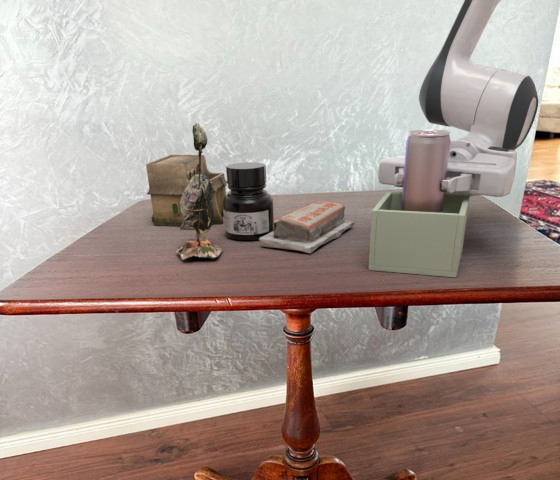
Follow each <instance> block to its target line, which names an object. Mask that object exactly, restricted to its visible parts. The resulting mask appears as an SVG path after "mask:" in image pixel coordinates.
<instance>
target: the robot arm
mask: <svg viewBox="0 0 560 480" xmlns="http://www.w3.org/2000/svg"><path fill="white" fill-rule="evenodd" d="M501 1H502V0H463V2H462V5H461V7H460V9H459V11H458V13H457V16H456V17H455V19H454V22H453V24H452V26H451V27H450V30H449V32H448V35H447V37H446V39H445V41H444V43H443V45H442V48H441V49H440V51H439V53H438V55H437V56H436V58H435V60H434V61H433V63H432V65H431V66H430V68H429V69H428V71H427V73H426V75H425V77H424V79H423V81H422V84H421V87H420V90H419V94H418V102H419V106H420V109H421V111H422V113H423V116H424V118H425V119H426V120H427V122H428V123H429V124H432V125H438V126H442V127H443V126H444V127H449V128H450V127H452V128H454V129H458V130H461V131H465V132H468V134H467V135H465V136H461V137H459V138H456V139H452V140H451V142H450V150H449V159H448V167H447V176H446V178H445V179H443V180H442V183H441V185H442V187H441V192H445V193H444V194H455V195H470V197H474V196H475V197H476V196H485V197H486V196H487V197H495V198H503V197H506V196H508V195H510V194H511V191H512V188H513V184H514V181H515V175H516V169H517V162H518V161H517V159H518V151H516V149H518V148H519V147H521V146H522V144H523V143H524V142H525V140H526V139H527V137H528V135H529V133H530V131H531V129H532V127H533V124H534V121H535V119H536V116H537V114H538V113H537V112H538V109H539V108H538V107H539V96H538V92H537V87H536V84H535V82H534V80H533V78H532V77H531V76H530V75H525V74H522V73H518V72H515V71H511V70H507V69H504V68H503V69H502V68H501V69H500V68H496V67H492V66H487V65H483V64H479V63H475V62H472V60H471V57H472V54H473V52H474V50H475V49H476V46H477V45H478V43H479V41H480V39H481V37H482V35H483V33H484V31H485V29H486V27H487V25H488V23H489V21H490V19H491V17H492V15H493V13H494V11H495V9H496V8H497V6H498V4H499V3H500V2H501ZM404 165H405V154H404V155H396V156H395V155H394V156H390V157H386V158H383V159H381V160H379V163H378V169H377V180H378V182H379V184H381V185H389V186H394V188H403V178H404Z"/></svg>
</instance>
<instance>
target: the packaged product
mask: <svg viewBox="0 0 560 480" xmlns="http://www.w3.org/2000/svg"><path fill="white" fill-rule="evenodd" d="M345 209H346V206H345V204H343V203H341V202H339V201H330V200H315V201H312V202H309V203H308V204H305V205H303V206H301V207H299V208H297V209H295V210H292V211H291V212H289V213H286V214H284V215H282V216H280V217H278V218H276V219H274V223H273V232H271V233H268V234H267V235H264V236H263V237H260V238H259V239H258V240H259V244H260V247H264V248H275V249H283V250H290V251H297V252H303V253H307V254H312V253H314V251H315V250H317V249H318V248H319V247H321V246H323V245H325V244H327V243H329V242H331V241H332V240H334V239H338V238H340V237H341V236H342V234H343V233H344V232H345V231H347V230H349V229H350V228H352V227H354V225H355V223H356V222H355V221H354V220H347V219H344V218H345V211H346V210H345Z"/></svg>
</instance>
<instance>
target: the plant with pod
mask: <svg viewBox="0 0 560 480" xmlns="http://www.w3.org/2000/svg"><path fill="white" fill-rule="evenodd" d="M191 131H192V137H193V138H192V139H193V147H194V150H195V151H196V152H197V151H198V152H197V155H198V157H199V174H196V175H195V176H193V177H192V179H191V180H190V181H189V182H188V185H187V187H186V189H185V191H184V192H183V195H182V197H181V202H180V204H181V213H182V216H183V218H184V221H185V222H186V223H187V224H188V225H189V226H191V227H193V228H195V229H196V230H195V239H194V238H190V239H186V240H185V241H184V243H183V245H182V246H181V247H180V246H178V248H177V250H175V253H176V254H178V255H179V256H180V258H181V260H187V259H190V258H192V257H196V258H197V257H198V258H202V259H204V258H205V259H207V258H209V259H213V260H214V259H216V258H218V257H219V256H220V255H221V253H222V252H223V251H224V249H223V248H222V247H221V246H219V245H218V244H216V243H211V241H210V240H208V239H207V237H208V234H209V232H210V230H211V228H212V226H213V225H212V223H213V218H214V214H213V212H214V211H213V207H212V189H211V183H210V181H209V179H208V177H207V176H205V175H203V174H201V173H200V172H201V169H200V167H201V155H202V154H203V150H204V149H206V147H207V144H208V136H207V133H206V131H205V130H204V128H203V127H202V126H201V125H200V123H199V122H196V123H195V124H193V125H192V130H191ZM208 174H209V173H208Z"/></svg>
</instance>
